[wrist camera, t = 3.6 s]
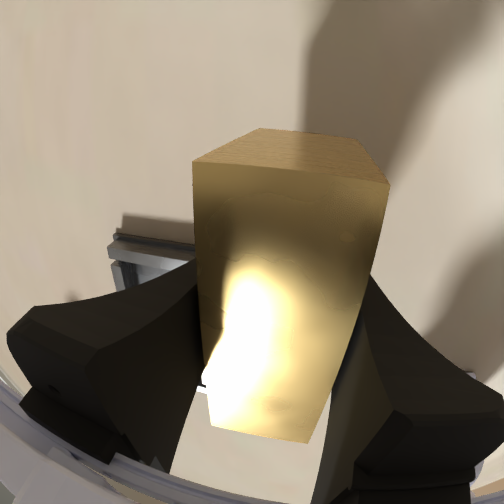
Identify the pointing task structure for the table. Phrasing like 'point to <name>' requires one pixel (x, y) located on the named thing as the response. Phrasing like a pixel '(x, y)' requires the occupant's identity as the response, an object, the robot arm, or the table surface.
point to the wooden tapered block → (281, 272)
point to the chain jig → (147, 264)
